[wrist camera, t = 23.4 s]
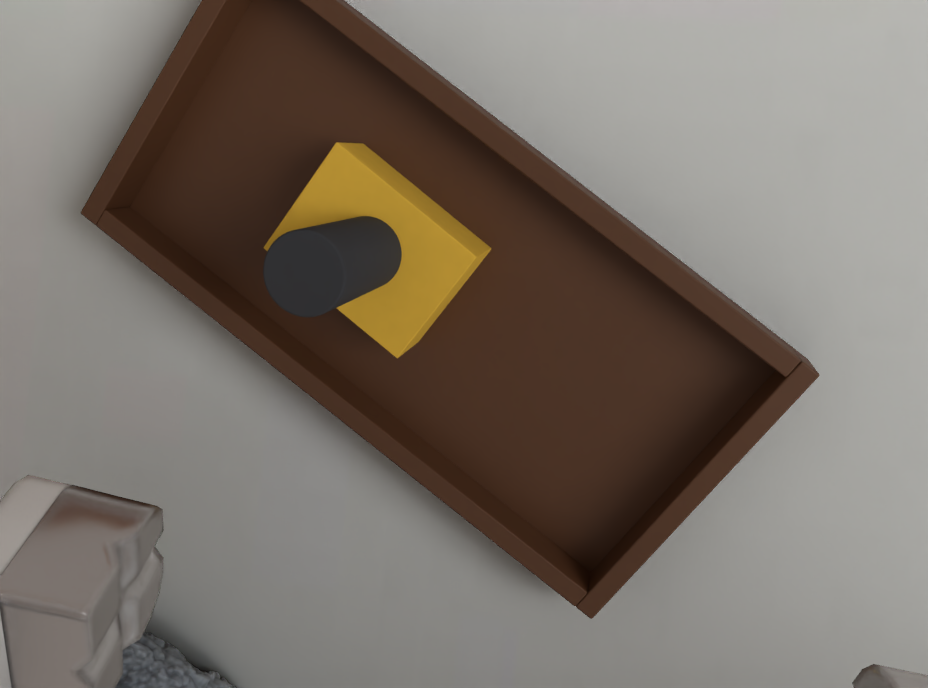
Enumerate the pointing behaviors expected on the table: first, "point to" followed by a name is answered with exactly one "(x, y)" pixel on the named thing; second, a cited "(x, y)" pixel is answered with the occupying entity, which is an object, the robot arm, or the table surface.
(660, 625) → the table surface
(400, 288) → the yellow block with peg
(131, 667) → the koala plush
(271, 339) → the tray
